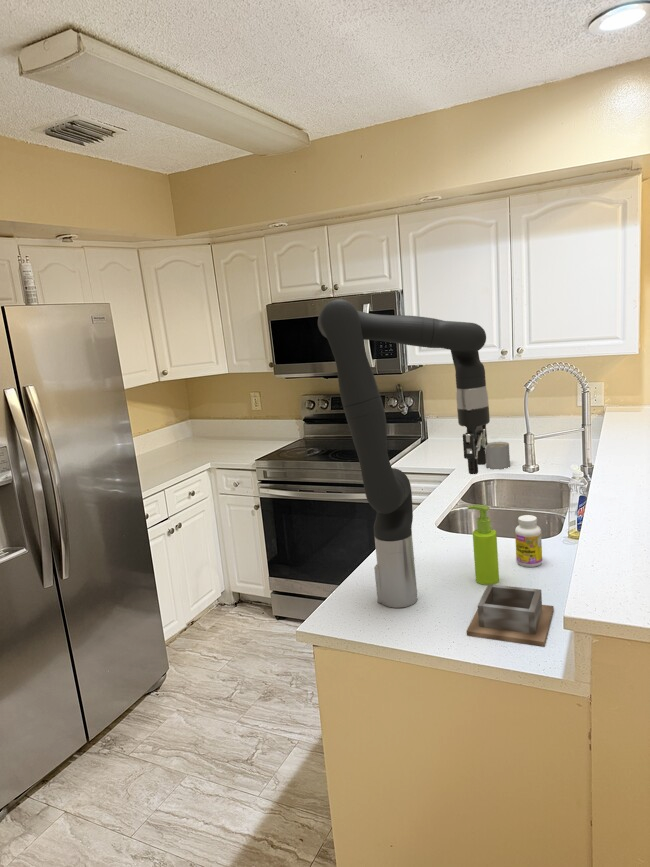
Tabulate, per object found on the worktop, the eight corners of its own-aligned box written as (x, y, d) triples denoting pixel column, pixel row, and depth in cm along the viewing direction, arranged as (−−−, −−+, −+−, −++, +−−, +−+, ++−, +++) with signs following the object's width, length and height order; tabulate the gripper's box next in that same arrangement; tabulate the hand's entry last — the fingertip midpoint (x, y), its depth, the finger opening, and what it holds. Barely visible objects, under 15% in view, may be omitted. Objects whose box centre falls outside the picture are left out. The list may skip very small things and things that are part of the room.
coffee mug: (510, 469, 255) (509, 446, 254) (486, 470, 258) (485, 447, 256) (508, 461, 268) (507, 439, 266) (485, 462, 271) (484, 440, 269)
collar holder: (466, 635, 131) (465, 609, 130) (483, 601, 145) (481, 578, 144) (544, 646, 124) (543, 619, 122) (553, 610, 137) (552, 585, 136)
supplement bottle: (512, 565, 163) (510, 520, 160) (521, 556, 168) (519, 512, 166) (537, 569, 159) (535, 523, 156) (545, 560, 164) (543, 515, 161)
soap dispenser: (478, 572, 161) (473, 501, 157) (502, 577, 156) (498, 504, 152) (468, 581, 156) (463, 508, 152) (493, 586, 152) (488, 511, 148)
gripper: (464, 401, 155) (469, 461, 158) (449, 411, 143) (455, 476, 146) (494, 399, 152) (498, 461, 155) (481, 409, 139) (486, 477, 142)
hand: (477, 469), depth 150 cm, fingers open, 8 cm apart
